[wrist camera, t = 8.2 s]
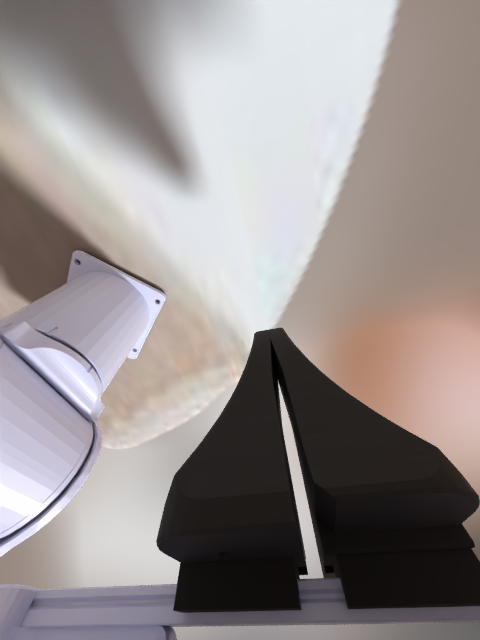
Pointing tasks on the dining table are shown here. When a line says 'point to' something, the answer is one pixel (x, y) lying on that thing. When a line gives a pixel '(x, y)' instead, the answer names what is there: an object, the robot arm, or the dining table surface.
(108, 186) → the dining table surface
